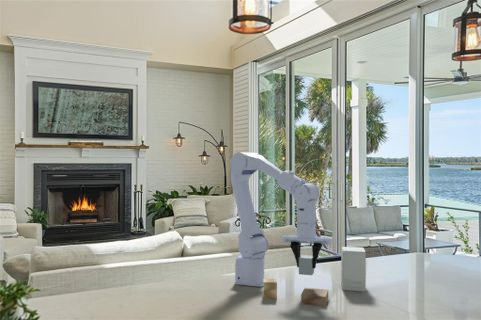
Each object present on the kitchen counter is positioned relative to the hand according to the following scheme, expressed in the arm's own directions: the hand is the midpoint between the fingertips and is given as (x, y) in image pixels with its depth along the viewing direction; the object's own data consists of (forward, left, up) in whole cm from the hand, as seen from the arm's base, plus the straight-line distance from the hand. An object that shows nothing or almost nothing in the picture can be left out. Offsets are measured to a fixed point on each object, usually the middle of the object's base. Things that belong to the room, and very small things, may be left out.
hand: (306, 267), depth 129 cm
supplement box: (+13, +13, -9) cm, 20 cm away
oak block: (-10, -5, -9) cm, 14 cm away
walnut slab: (+3, -4, -9) cm, 11 cm away
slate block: (0, 0, -2) cm, 2 cm away
